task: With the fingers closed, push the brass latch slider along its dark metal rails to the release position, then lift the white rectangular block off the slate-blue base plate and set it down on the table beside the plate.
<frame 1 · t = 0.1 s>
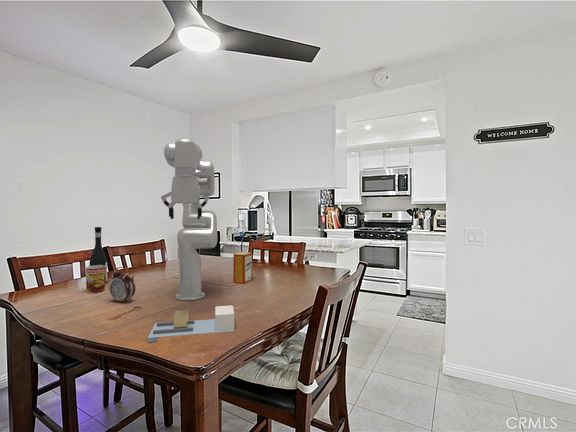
hand: (185, 218, 119), 37 cm above the table, tool pointing down, fingers open, 9 cm apart
alarm clock: (122, 302, 136), on the table
wine bottle: (98, 284, 167), on the table
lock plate: (193, 331, 105), on the table
white rectangular block: (224, 324, 107), point 1 cm above the table, touching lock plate
canned food: (96, 291, 152), on the table
baking soda box: (243, 281, 174), on the table
latch slider: (181, 320, 104), point 4 cm above the table, slide at 0.0 cm
key: (127, 315, 121), on the table
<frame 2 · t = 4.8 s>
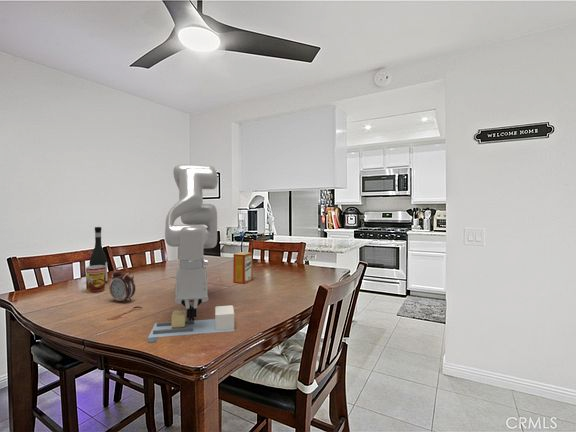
hand: (191, 319, 104), 4 cm above the table, tool pointing down, fingers closed
latch slider: (178, 320, 103), point 4 cm above the table, slide at 0.7 cm, touching gripper
everything else where it was.
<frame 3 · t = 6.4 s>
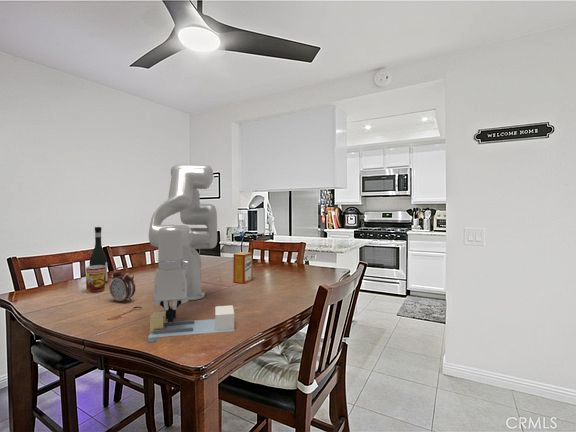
hand: (171, 320, 103), 4 cm above the table, tool pointing down, fingers closed
latch slider: (157, 321, 102), point 4 cm above the table, slide at 7.1 cm, touching gripper
everything else where it was.
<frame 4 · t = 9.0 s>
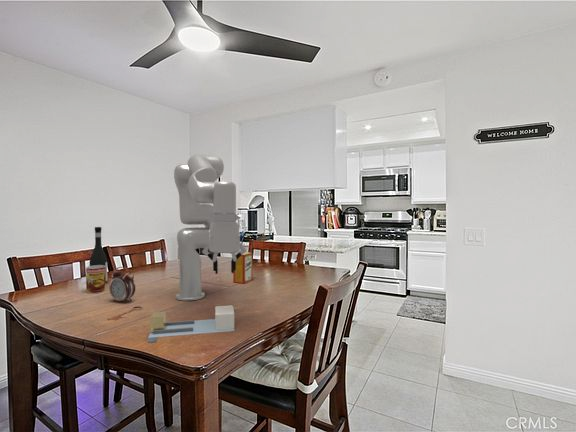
hand: (224, 272, 106), 19 cm above the table, tool pointing down, fingers open, 4 cm apart
latch slider: (158, 321, 102), point 4 cm above the table, slide at 7.0 cm
everything else where it was.
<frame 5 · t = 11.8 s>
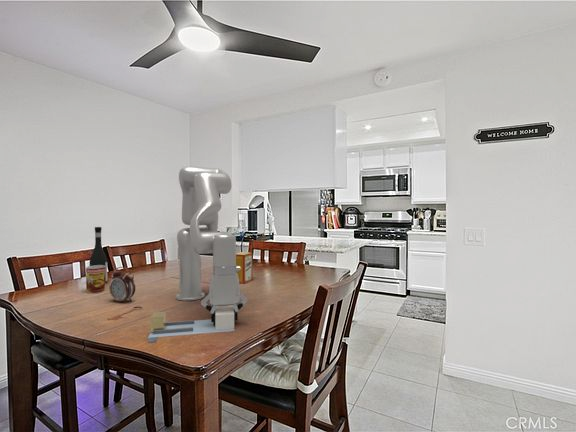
hand: (224, 322, 107), 2 cm above the table, tool pointing down, fingers closed on white rectangular block, 6 cm apart
white rectangular block: (224, 324, 107), point 1 cm above the table, touching gripper, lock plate
everything else where it was.
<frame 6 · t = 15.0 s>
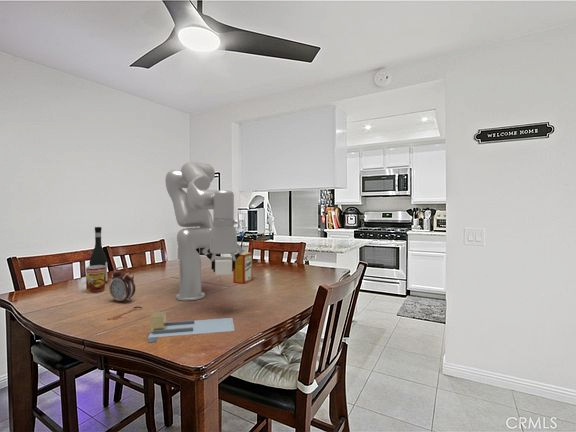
hand: (223, 270, 119), 17 cm above the table, tool pointing down, fingers closed on white rectangular block, 6 cm apart
white rectangular block: (223, 272, 119), point 17 cm above the table, touching gripper
everything else where it was.
when the fingers open (3 cm above the table, at t = 18.3 s): white rectangular block drops 2 cm, on the table.
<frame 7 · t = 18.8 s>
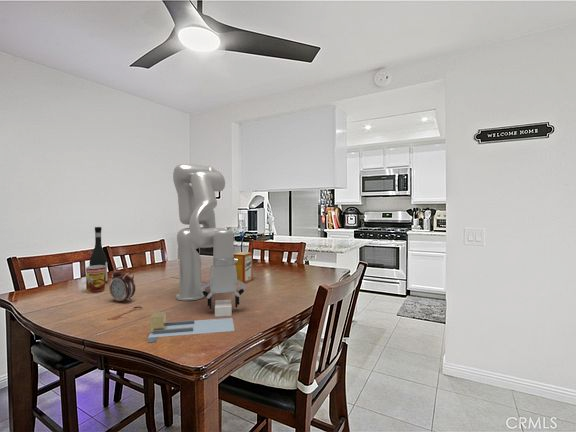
hand: (223, 307, 119), 3 cm above the table, tool pointing down, fingers open, 9 cm apart
white rectangular block: (223, 316, 120), on the table
everything else where it was.
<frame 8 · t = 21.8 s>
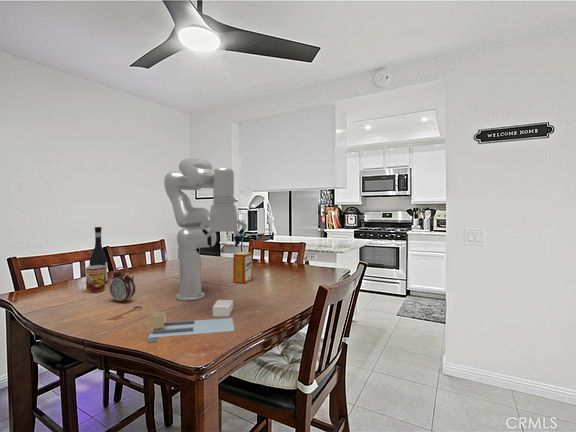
hand: (223, 246, 119), 26 cm above the table, tool pointing down, fingers open, 9 cm apart
at the end: latch slider slide at 7.0 cm; white rectangular block inside the target area (0.1 cm from its centre), on the table; white rectangular block tilted 0° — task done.
